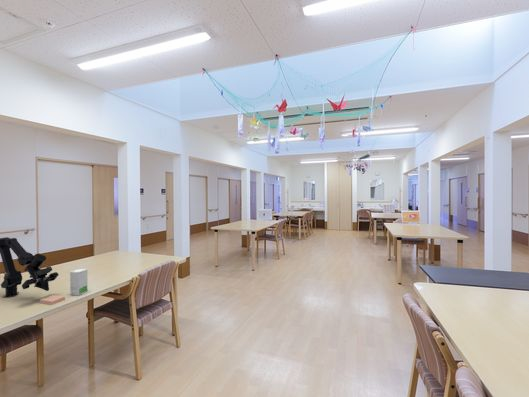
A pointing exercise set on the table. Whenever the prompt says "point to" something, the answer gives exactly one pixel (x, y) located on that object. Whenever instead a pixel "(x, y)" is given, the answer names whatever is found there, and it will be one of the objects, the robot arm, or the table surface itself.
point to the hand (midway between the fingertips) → (48, 290)
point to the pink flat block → (52, 299)
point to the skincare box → (78, 282)
